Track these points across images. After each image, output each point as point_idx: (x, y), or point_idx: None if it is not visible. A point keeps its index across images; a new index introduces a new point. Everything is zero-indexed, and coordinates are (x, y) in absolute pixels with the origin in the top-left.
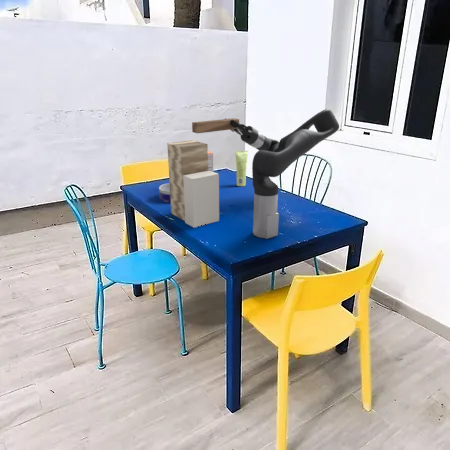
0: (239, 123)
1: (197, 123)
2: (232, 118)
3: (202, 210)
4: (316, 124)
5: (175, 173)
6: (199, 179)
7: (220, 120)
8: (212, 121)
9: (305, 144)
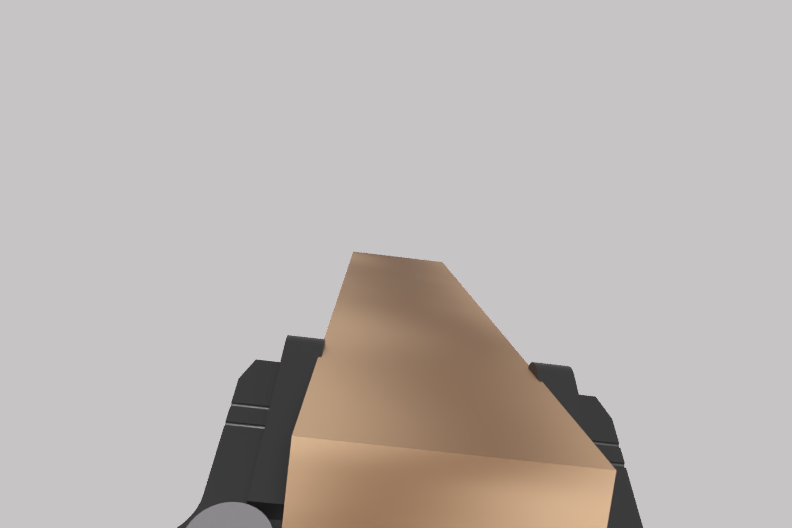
0: (194, 518)
1: (353, 252)
2: (593, 448)
3: None
4: None
5: None
6: None
7: (402, 311)
8: (380, 282)
9: None
